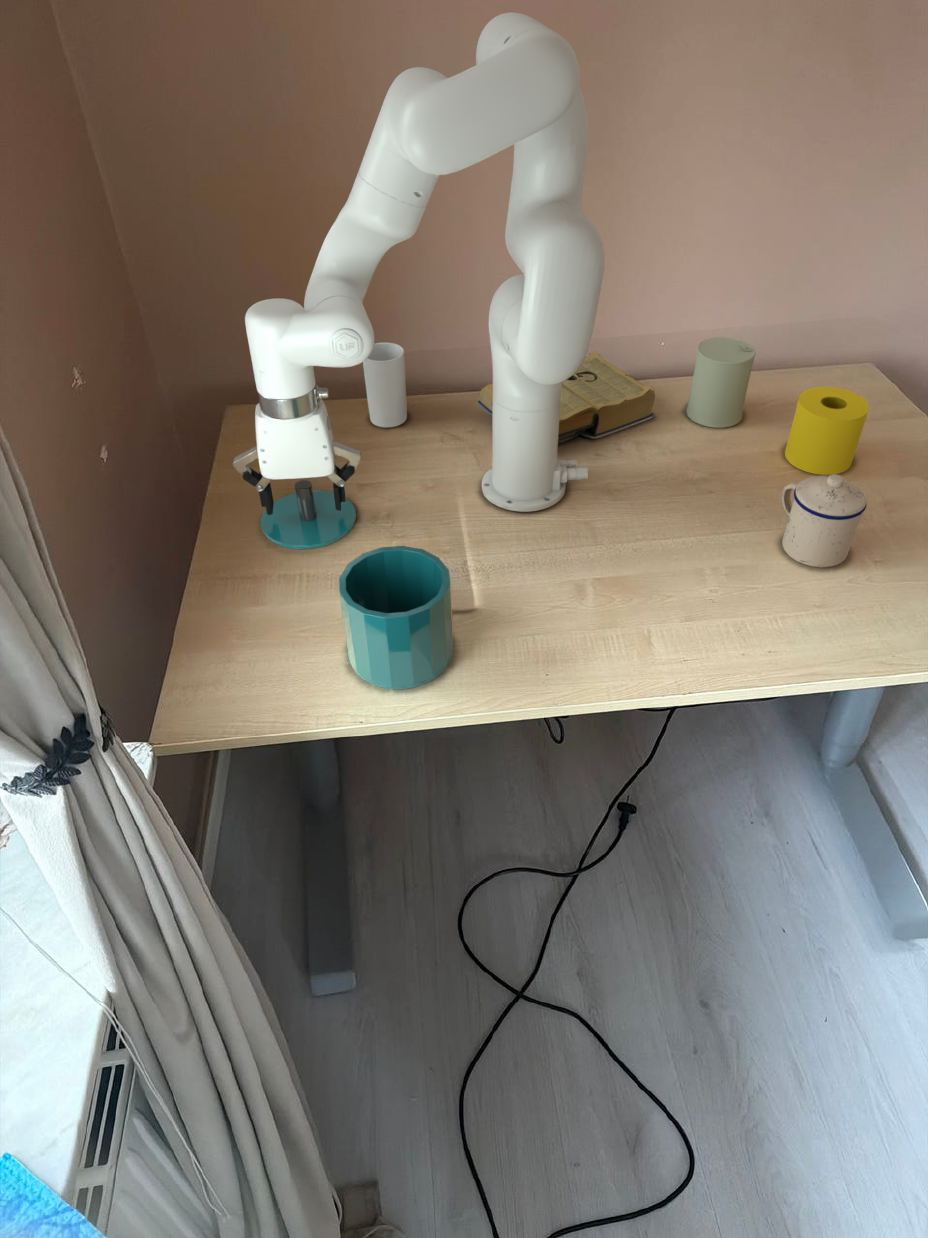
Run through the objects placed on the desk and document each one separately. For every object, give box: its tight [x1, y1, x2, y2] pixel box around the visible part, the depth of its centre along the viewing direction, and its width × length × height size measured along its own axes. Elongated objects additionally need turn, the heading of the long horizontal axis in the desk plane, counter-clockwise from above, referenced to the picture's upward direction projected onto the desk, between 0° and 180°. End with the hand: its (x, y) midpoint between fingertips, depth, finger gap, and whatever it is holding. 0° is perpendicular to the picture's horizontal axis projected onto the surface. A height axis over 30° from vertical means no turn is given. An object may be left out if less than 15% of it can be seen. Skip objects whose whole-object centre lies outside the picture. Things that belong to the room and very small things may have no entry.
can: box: [685, 336, 756, 429], centre depth 147 cm, size 9×9×12 cm
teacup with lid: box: [781, 474, 868, 568], centre depth 120 cm, size 12×9×12 cm
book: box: [476, 350, 656, 444], centre depth 148 cm, size 25×17×6 cm
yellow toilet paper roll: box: [784, 386, 870, 476], centre depth 137 cm, size 10×10×9 cm
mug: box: [362, 342, 408, 428], centre depth 148 cm, size 10×7×12 cm, turn 21°
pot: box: [338, 545, 454, 690], centre depth 106 cm, size 13×13×12 cm
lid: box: [260, 479, 357, 550], centre depth 127 cm, size 14×14×7 cm
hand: (304, 507), depth 128 cm, fingers open, 9 cm apart
